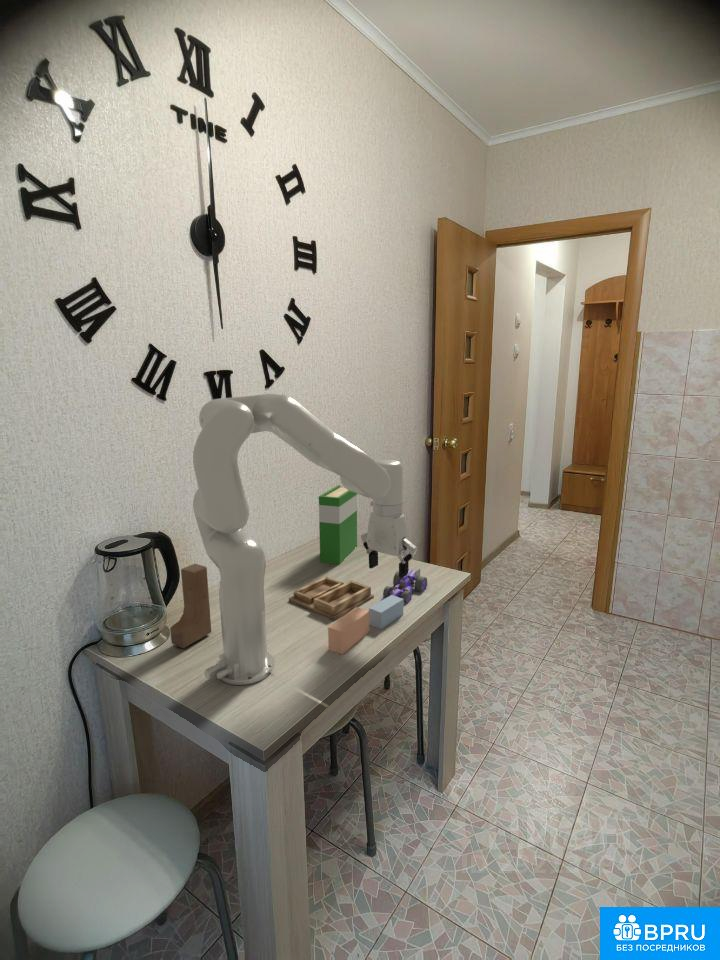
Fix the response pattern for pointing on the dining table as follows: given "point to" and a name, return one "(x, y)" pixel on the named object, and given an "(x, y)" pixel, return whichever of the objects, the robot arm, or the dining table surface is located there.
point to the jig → (332, 597)
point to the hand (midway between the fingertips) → (388, 571)
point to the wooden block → (193, 607)
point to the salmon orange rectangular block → (348, 630)
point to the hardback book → (337, 524)
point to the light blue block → (386, 611)
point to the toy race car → (406, 585)
